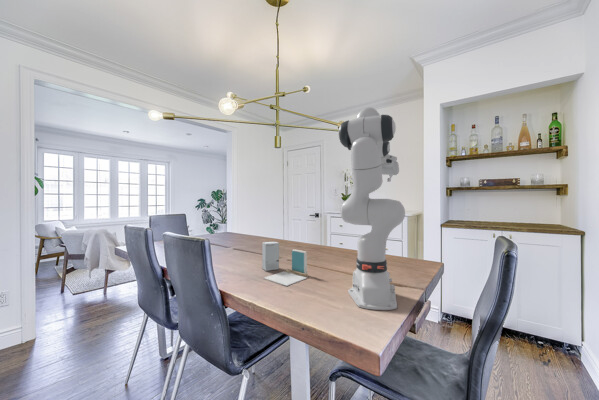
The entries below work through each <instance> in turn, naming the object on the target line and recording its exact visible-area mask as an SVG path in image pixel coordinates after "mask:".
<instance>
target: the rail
mask: <svg viewBox="0 0 599 400" xmlns="http://www.w3.org/2000/svg"><path fill="white" fill-rule="evenodd" d="M285 272H288V273H292V274H295V275H299V276H303V277H306V278H308V277H309V274H308V273H307V274H305V273H301V272H298V271H294V270H292V269H289V268H286V269H285Z"/></svg>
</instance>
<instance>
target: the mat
mask: <svg viewBox="0 0 599 400" xmlns="http://www.w3.org/2000/svg"><path fill="white" fill-rule="evenodd" d="M307 278H308V277H307ZM307 278H306V277H303V276H299V275H295V274H292V273H288V272H286V270H285V271H281V272H277V273H275V274H272V275H268V276H264V277H263V280H267V281H269V282H273V283H276V284H278V285H282V286H285V287H288V286H291V285H294V284H297V283H299V282H302V281H304V280H307Z"/></svg>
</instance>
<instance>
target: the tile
mask: <svg viewBox="0 0 599 400" xmlns="http://www.w3.org/2000/svg"><path fill="white" fill-rule="evenodd" d="M291 270H294V271H298V272H301V273H305V274H308V251H304V250H300V249H296V248H295V249H291Z"/></svg>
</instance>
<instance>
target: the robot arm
mask: <svg viewBox="0 0 599 400" xmlns="http://www.w3.org/2000/svg"><path fill="white" fill-rule="evenodd" d="M396 128H397V127H396V122H395V120H394V118H393V117H392V116H390V115H389V114H380V113H379V111H377V109H376V108H373V107H364V108H362V109H361V110H360V111H359V112H358V113H357V116H356V118H355V119H351V120H349V119H348V120H346V121H343V122H341V123H340V125H339V128H338V139H339V142H340V143H341V145H342V146H343V147H345V148H347V150H348V151H351V154H350V160H351V161H350V162H351V172H352V190H351V193H350V195H349V197H348V198H347V199H346V200H344V201H343V202H342V204H341V207H340V211H339V213H340V217H341V219H342V220H343V222H345V223H347V224H351V225H355V226H357V225H358V226H370V227H371V231H370V232H367V233H365V234H363V235H361V236H360V237H359V238H358V240H357V257H356V263H355V264H356V268H355V270H354V271H353V272H352V287H350V288H349V289H347V292H348V294H349V296H350V297H351V298H352V300H353V301H354V303H355V305H356V306H357V307H359V308H363V309H367V310H373V311H374V310H376V311H390V310H392V311H393V310H397V309H398V304H397V295H396V291H395V290H396V288H395V284H391V283H392V282H393V278H390V277H391V276H390V272H389V271H388V263H387V259H386V250H387V248H386V247H387V240H388V238H389V236H390V234H391V233H392V231H393V230H394V229H395V228H396V227H398V226H399V225H401V223H403V221H404V219H405V216H406V209H405V206H404V205H403V204H402V202H401V201H400V200H397V199H393V198H392V199H390V198H370V194H371V193H373V192H375V191H377V190H379V188H380V187H382V185H383V176H384V175H385V176H386V175H387V176H389V178H387V180H386V181H387V182H389V183H390V182H391V180H392V178H393V176H397V175H398V174H399V172H400V167H399V162H398V161H397V160H398V157H397V156H395V155H392V154H389V153H390V151H391V150H390V149H391V148H390V147H391V146H390V142H391V141H392V140H393V139H394V136H395V133H396Z"/></svg>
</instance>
